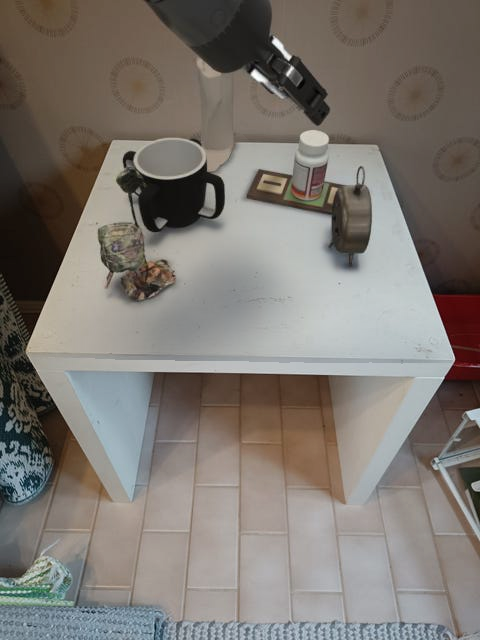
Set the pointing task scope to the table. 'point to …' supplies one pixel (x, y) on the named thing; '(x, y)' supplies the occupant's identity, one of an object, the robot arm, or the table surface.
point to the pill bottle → (310, 165)
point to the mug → (174, 183)
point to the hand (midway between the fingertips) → (298, 101)
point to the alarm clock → (351, 218)
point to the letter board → (289, 192)
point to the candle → (216, 114)
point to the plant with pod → (131, 249)
